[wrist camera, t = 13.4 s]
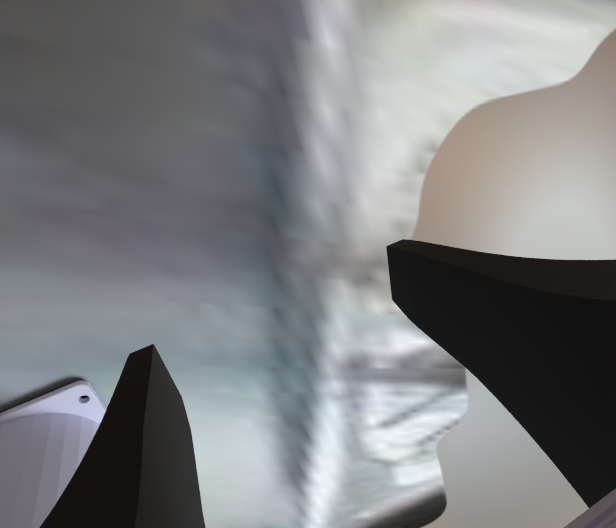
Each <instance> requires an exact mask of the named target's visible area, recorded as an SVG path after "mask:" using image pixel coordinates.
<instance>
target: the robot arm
mask: <svg viewBox="0 0 616 528" xmlns="http://www.w3.org/2000/svg"><path fill="white" fill-rule="evenodd" d="M387 256H388V265H389V274H390V284H391V293H392V300H393V301H394V302H395V303H396V305H397V306H398V307H399V308H400V309H401V310H402V312H403V313H404V314H405V315H406V316H407V317H408V318H409V319H410V320H411V321H412V322H413V323H414V324H415V325H416V326H417V327H418V328H419V329H421V330H422V331H423V332H424V333H425V334H426V335H428V336H429V337H430V338H431V339H432V340H434V341H435V342H436V343H437V344H438V345H439V346H441V347H442V348H443V349H444V350H445V351H447V352H448V353H449V354H450V355H451V356H453V357H454V358H455V359H456V360H457V361H459V362H460V363H461V364H462V365H463V366H465V367H466V368H467V369H468V370H469V371H470V372H471V373H472V374H473V375H474V376H476V377H477V378H478V379H479V380H480V381H481V383H483V385H484V386H485V387H486V388H487V389H488V390H489V391H490V392H491V393H492V394H493V395H494V396H495V397H496V398H497V399H498V400H499V401H500V402H501V403H502V404H503V406H504V407H505V408H506V409H507V410H508V411H509V412H510V413H511V414H512V415H513V417H514V418H515V419H516V420H517V421H518V422H519V423H520V424H521V425H522V426H523V427H524V429H525V430H526V431H527V432H528V433H529V434H530V436H531V437H532V438H533V439H534V440H535V442H536V443H537V444H538V445H539V446H540V447H541V449H542V450H543V451H544V452H545V453H546V454H547V455H548V457H549V458H550V459H551V460H552V461H553V463H554V464H555V465H556V466H557V468H558V469H559V470H560V471H561V473H562V474H563V475H564V477H565V478H566V479H567V480H568V482H569V483H570V484H571V485H572V487H573V488H574V489H575V490H576V492H577V493H578V494H579V495H580V497H581V498H582V499H583V501H584V502H585V503H586V505H587V506H588V507H589V509H588V510H586V511H585V512H584V513H582V514H581V515H580V516H579V517H577V518H576V519H575V520H573V521H572V522H571V523H569V524H568V525H567V526H565V527H564V528H616V260H552V259H537V258H523V257H514V256H506V255H498V254H491V253H484V252H477V251H471V250H465V249H460V248H454V247H449V246H443V245H437V244H432V243H426V242H421V241H414V240H404V239H403V240H400V241H398V242H396V243H393V244H391V245H388V246H387ZM84 395H87V396H89V397H87V398H80V397H81V396H84ZM0 528H205V523H204V518H203V512H202V505H201V498H200V491H199V484H198V476H197V469H196V462H195V455H194V448H193V441H192V434H191V429H190V425H189V421H188V418H187V414H186V410H185V407H184V403H183V400H182V397H181V395H180V393H179V391H178V389H177V387H176V385H175V383H174V382H173V380H172V378H171V376H170V374H169V372H168V370H167V368H166V367H165V365H164V363H163V361H162V359H161V357H160V355H159V353H158V351H157V350H156V348H155V346H154V344H152V345H150V346H147V347H145V348H143V349H140V350H138V351H135V352H133V353H131V354H129V356H128V358H127V361H126V363H125V366H124V368H123V371H122V373H121V376H120V379H119V381H118V384H117V386H116V388H115V391H114V393H113V396H112V398H111V400H110V403H109V405H108V407H107V409H106V407H105V406H104V404H103V403H102V401H101V400H100V398H99V397H98V395H97V394H96V392H95V391H94V389H93V388H92V386H91V385H90V384H89V383H88V382H86V381H77V382H74V383H71V384H69V385H67V386H64V387H62V388H59V389H57V390H55V391H52V392H50V393H47V394H45V395H43V396H40V397H38V398H35V399H33V400H31V401H28V402H26V403H23V404H21V405H19V406H16V407H14V408H12V409H9V410H7V411H4V412H2V413H0Z"/></svg>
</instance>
